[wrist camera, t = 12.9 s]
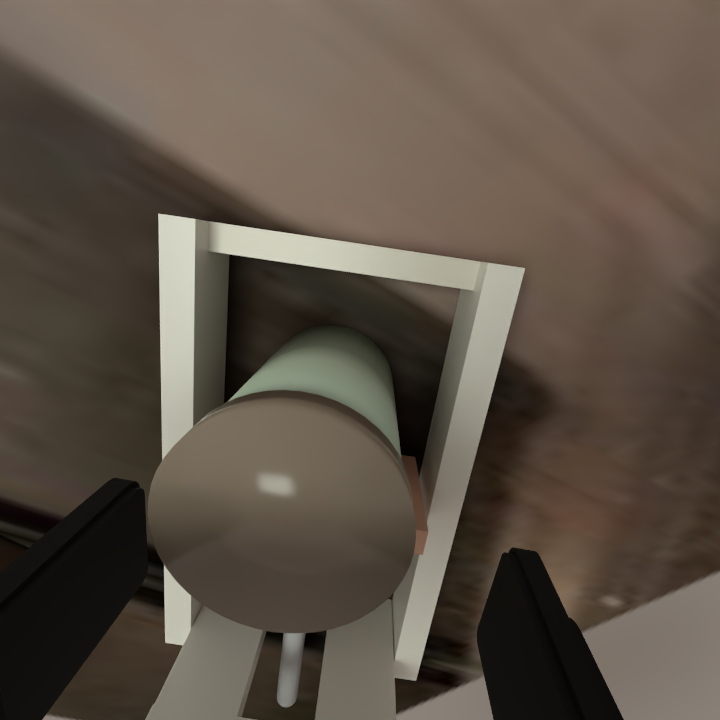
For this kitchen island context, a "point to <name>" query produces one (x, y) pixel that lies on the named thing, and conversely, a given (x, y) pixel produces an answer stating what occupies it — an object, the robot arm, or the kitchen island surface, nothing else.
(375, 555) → the jar
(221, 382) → the frame
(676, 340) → the kitchen island surface
